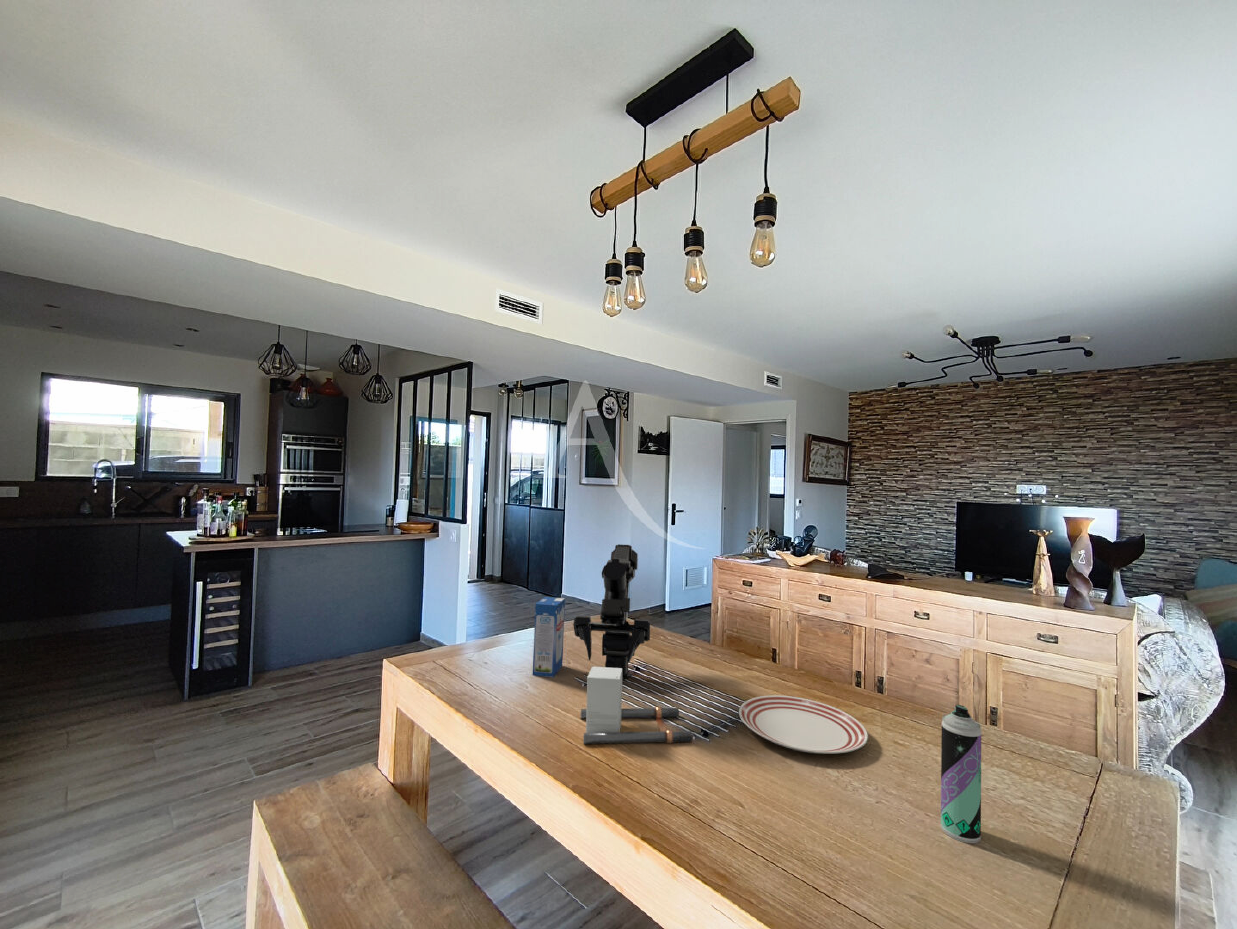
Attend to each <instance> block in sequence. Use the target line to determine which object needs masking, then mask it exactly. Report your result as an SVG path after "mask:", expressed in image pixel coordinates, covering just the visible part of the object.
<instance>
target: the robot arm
mask: <svg viewBox="0 0 1237 929" xmlns="http://www.w3.org/2000/svg"><path fill="white" fill-rule="evenodd" d="M638 557H639V556H638V552H636V551H635V550H634V549H633V547H632V545H631V544H616V545H615V548H614V550H612V551H611V553H610V559H608V560H607V562H606V564H604V565H603V568H602V571H601V579H603V587H604V589H605V590H604V597H603V599H602V600H601V608H600V615H599V617H600V619H599V620H601V622H598V621H597V622H595V621H592V618H591V616H589V615H588V616H586V615H576V616H575V617H574V619H573V623H572V625H573V632H574V636H575V637H577V638H579V640H580V641H583V642H584V644H585V649H586V652H587V653H586V654H587V658H588V661H591V658H592V642H593V641H592V632H593V631H594V632H604V633H602V638H601V640H602V641H601V655H602V656H603V657H604V656H605V662H604V667H608V668H622V681H623V680H626V679H628V678H632V677H633V674H632V673H629V664H630V662H631V660H632V658H633V657H634V656H635V653H636V651H637V649H638V647H639V646H640V645H641V644H644V643H645V642H649V641H651V622H650V621H649V619H641V618H640V619H637V618H635V619H634V620H633V624H630V623H629V621H627V616H628V613H630V612H631V611H630V610H631V597H629V590H630V582H632V580H633V579H634V578H635V576H636V571H637V570H638V566H639V565H638V564H639V562H638V561H639V558H638Z"/></svg>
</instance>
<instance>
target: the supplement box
mask: <svg viewBox="0 0 1237 929" xmlns="http://www.w3.org/2000/svg"><path fill="white" fill-rule="evenodd" d="M586 682H587V683H586V685H587V686H586V709H587V710H586V718H585V721H586V722H585V733H608V732H621V731H620V730H621V725H622V718H621V709H622V705H623V704H622V702H623V700H622V698H623V680H622V668H608V667H605V666H592V667H591V668H590V671H589V673H588V675H587V677H586Z"/></svg>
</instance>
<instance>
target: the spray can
mask: <svg viewBox="0 0 1237 929" xmlns="http://www.w3.org/2000/svg"><path fill="white" fill-rule="evenodd" d="M954 709H955V710H953V711H951V713H950V714H946V715H943V716H942V721H941V740H940V741H941V743H940V744H941V745H940V746H941V748H940V749H941V750H940V752H941V753H940V755H941V757H940V763H941V764H940V766H941V767H940V772H941V773H940V828H941V830H942V831H943V832H944V834H946V835H947V836H949V837H950V838H952V839H953V840H956V841H959V842H962V843H966V844H977V843H980V841H981V839H982V730H981V728H982V726H981V724H980V723H979V722H977V721H975V719H973V718H972V715H970V713H969V710H968V708H967V707H966V706H964V705H961V704H955V706H954Z"/></svg>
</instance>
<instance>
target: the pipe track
mask: <svg viewBox="0 0 1237 929" xmlns="http://www.w3.org/2000/svg"><path fill="white" fill-rule="evenodd" d="M586 710H587V708H581V709H580V719H582V720H583V719H584V720H585V719H586ZM679 717H680V710H679V707H661V706H655V707H652V708H651V707H649V708H647V707H646V708H645V707H644V708H643V707H641V708H640V707H639V708H636V707H635V708H621V719H642V718H643V719H644V718H646V719H647V718H648V719H650V718H654V719H655V720H656V723H657V726H658V728H659V729H660V731H625V732H624V731H623V732H621V731H620V732H608V733H586V732H583V744H586V745H587V744H627V743H628V744H634V743H666V744H673V743H678V742H679V743H681V742H683V743H684V742H687V743H688V742H692V741H693V734H692V731H691V730H685V731H684V730H681V731H680V730H679V731H673V730H672V729H668V727H667V726H666V723H665V721H664V719H663V718H679Z"/></svg>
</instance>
